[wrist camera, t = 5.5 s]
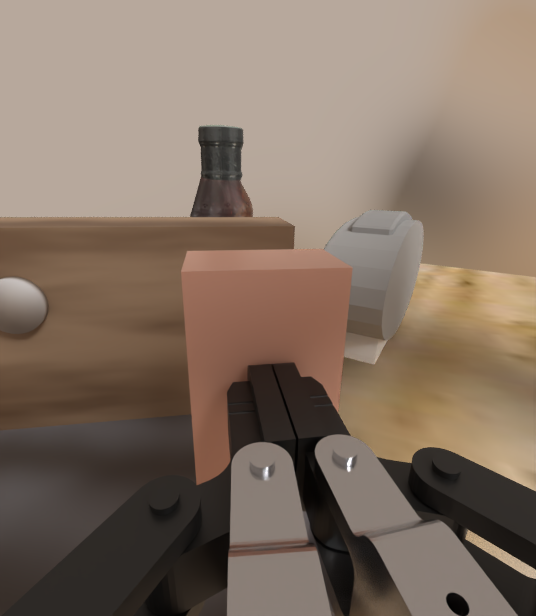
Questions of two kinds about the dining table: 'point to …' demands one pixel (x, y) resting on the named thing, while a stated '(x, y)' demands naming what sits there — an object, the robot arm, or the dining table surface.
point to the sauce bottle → (221, 174)
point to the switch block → (96, 374)
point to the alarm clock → (377, 276)
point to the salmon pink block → (258, 330)
